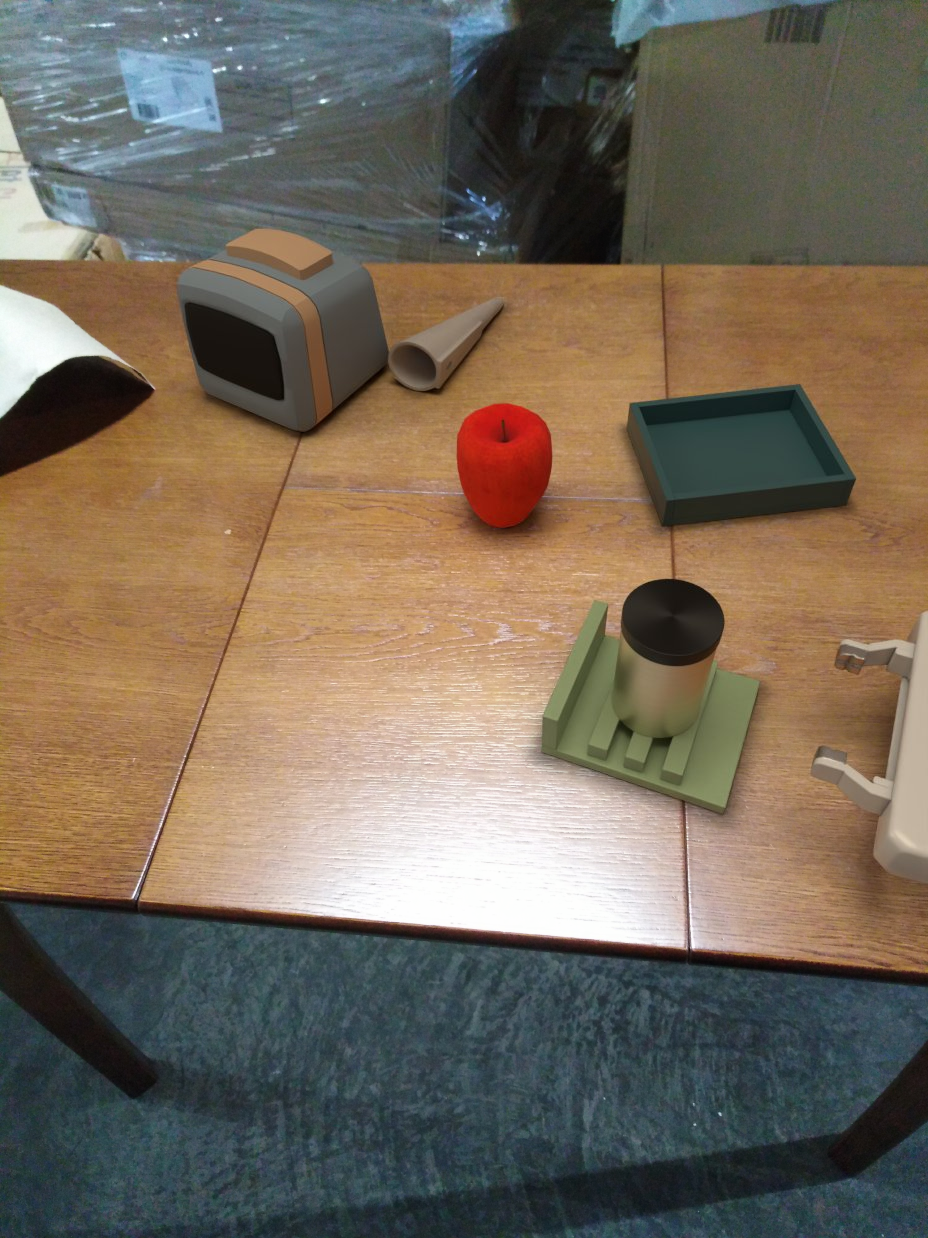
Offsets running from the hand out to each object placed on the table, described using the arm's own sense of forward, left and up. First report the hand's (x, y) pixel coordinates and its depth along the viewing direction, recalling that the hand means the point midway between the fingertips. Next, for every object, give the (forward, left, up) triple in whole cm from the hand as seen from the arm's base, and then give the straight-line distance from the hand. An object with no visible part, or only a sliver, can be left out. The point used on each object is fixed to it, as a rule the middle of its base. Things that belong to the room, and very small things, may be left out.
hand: (826, 704), depth 61 cm
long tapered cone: (+20, -59, -8) cm, 63 cm away
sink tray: (-5, -33, -8) cm, 35 cm away
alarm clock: (+38, -55, -8) cm, 68 cm away
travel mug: (+10, -5, -5) cm, 12 cm away
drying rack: (+10, -5, -8) cm, 14 cm away
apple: (+18, -30, -8) cm, 36 cm away
